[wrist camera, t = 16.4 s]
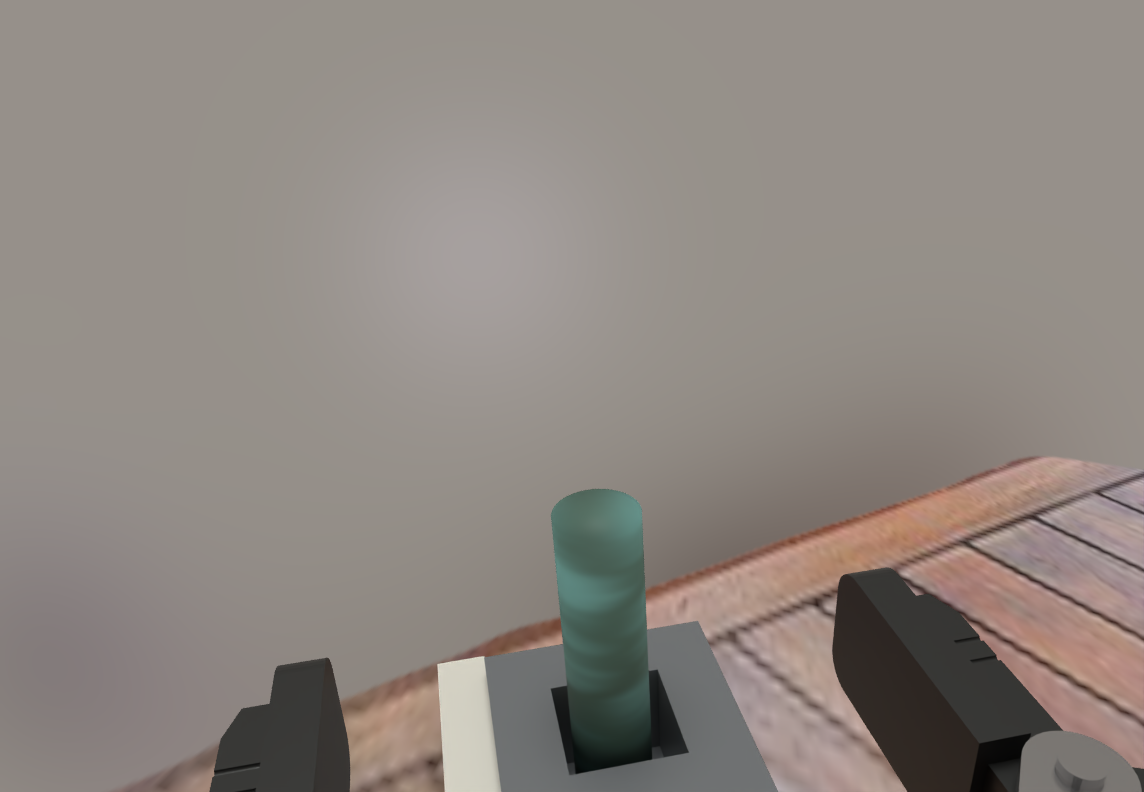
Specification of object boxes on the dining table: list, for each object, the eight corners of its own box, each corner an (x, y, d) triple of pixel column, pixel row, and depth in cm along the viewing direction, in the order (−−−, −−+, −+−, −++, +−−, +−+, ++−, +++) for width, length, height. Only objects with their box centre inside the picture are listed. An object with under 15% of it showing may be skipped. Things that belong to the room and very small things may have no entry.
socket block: (524, 963, 38) (508, 848, 35) (498, 760, 48) (484, 657, 45) (774, 909, 39) (779, 794, 36) (698, 723, 49) (697, 620, 46)
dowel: (584, 838, 41) (557, 545, 34) (572, 775, 44) (545, 495, 37) (662, 824, 41) (651, 531, 34) (644, 762, 44) (631, 483, 38)
